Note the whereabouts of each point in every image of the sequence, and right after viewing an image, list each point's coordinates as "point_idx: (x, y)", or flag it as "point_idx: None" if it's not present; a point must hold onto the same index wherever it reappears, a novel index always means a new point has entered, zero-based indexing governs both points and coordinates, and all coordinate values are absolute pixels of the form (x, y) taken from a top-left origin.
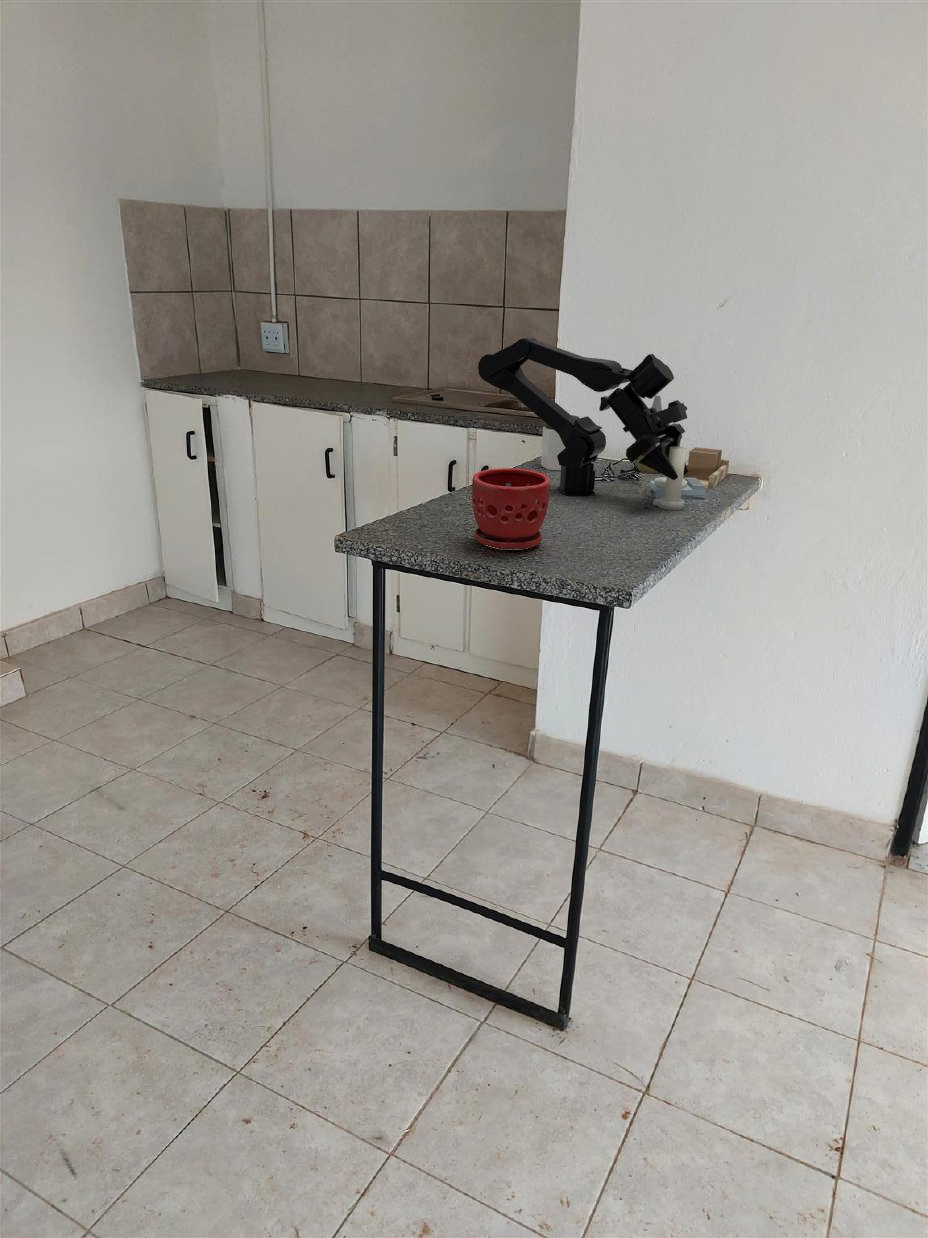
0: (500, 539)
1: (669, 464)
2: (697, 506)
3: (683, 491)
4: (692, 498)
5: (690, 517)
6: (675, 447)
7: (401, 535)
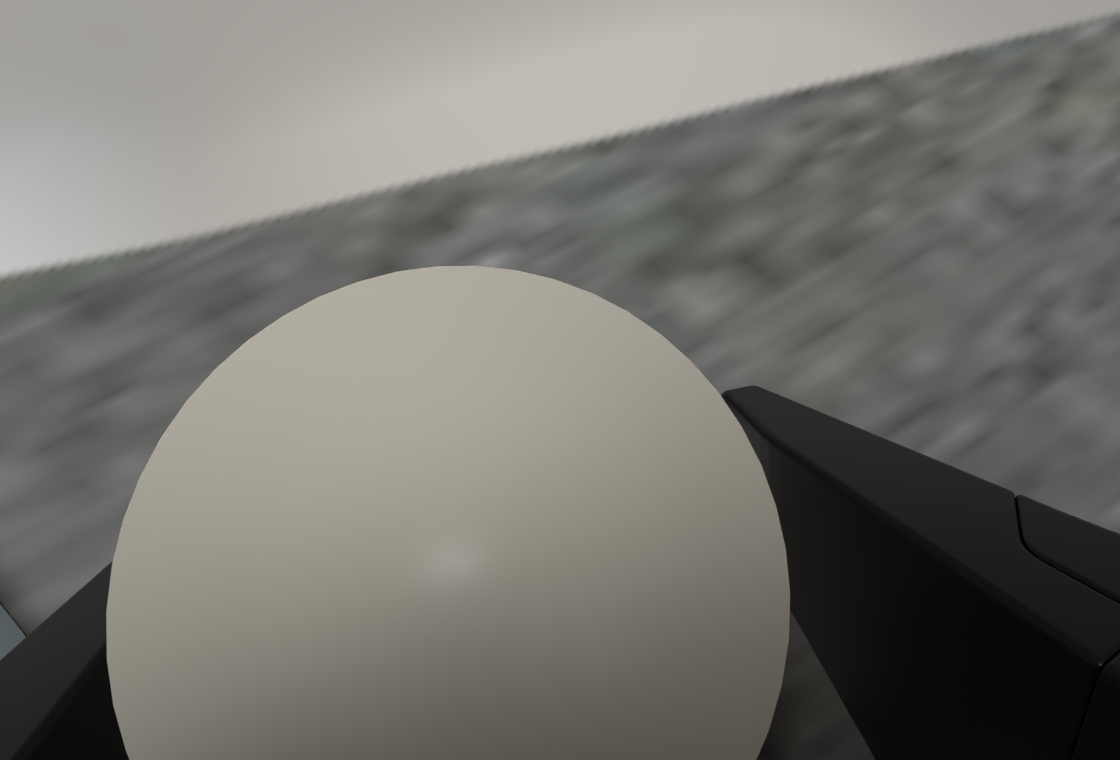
0: None
1: (973, 479)
2: None
3: None
4: (11, 629)
5: (703, 269)
6: (431, 730)
7: None
